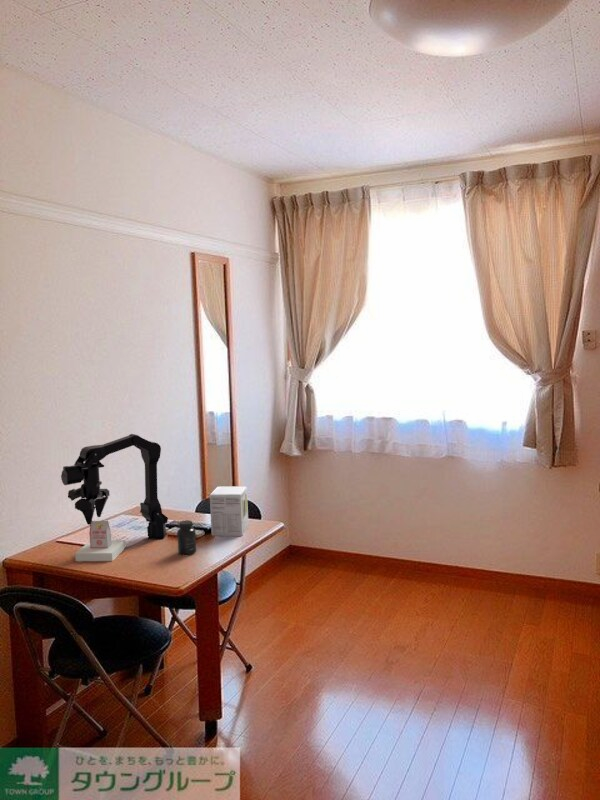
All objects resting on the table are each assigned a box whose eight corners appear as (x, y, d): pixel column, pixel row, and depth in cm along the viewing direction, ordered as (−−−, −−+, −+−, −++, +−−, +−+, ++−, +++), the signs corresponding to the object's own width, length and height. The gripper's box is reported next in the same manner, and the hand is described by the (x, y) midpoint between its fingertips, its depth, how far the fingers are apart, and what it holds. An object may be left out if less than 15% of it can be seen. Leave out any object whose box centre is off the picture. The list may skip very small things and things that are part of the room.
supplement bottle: (174, 552, 228) (173, 522, 227) (190, 548, 233) (189, 518, 231) (183, 557, 223) (182, 526, 222) (199, 552, 227) (198, 522, 226)
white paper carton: (94, 544, 231) (92, 519, 230) (111, 544, 230) (109, 519, 229) (90, 548, 227) (88, 522, 226) (107, 548, 227) (106, 522, 226)
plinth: (125, 547, 236) (125, 540, 235) (112, 561, 222) (112, 553, 221) (91, 547, 237) (90, 540, 236) (75, 561, 223) (75, 553, 222)
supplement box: (242, 536, 244) (240, 494, 243) (211, 536, 246) (209, 494, 244) (249, 525, 258) (247, 486, 256) (219, 525, 259) (217, 486, 257)
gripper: (81, 474, 236) (83, 513, 237) (59, 486, 217) (62, 528, 219) (108, 474, 235) (111, 513, 237) (89, 486, 216) (92, 528, 218)
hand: (94, 520), depth 228 cm, fingers open, 9 cm apart
